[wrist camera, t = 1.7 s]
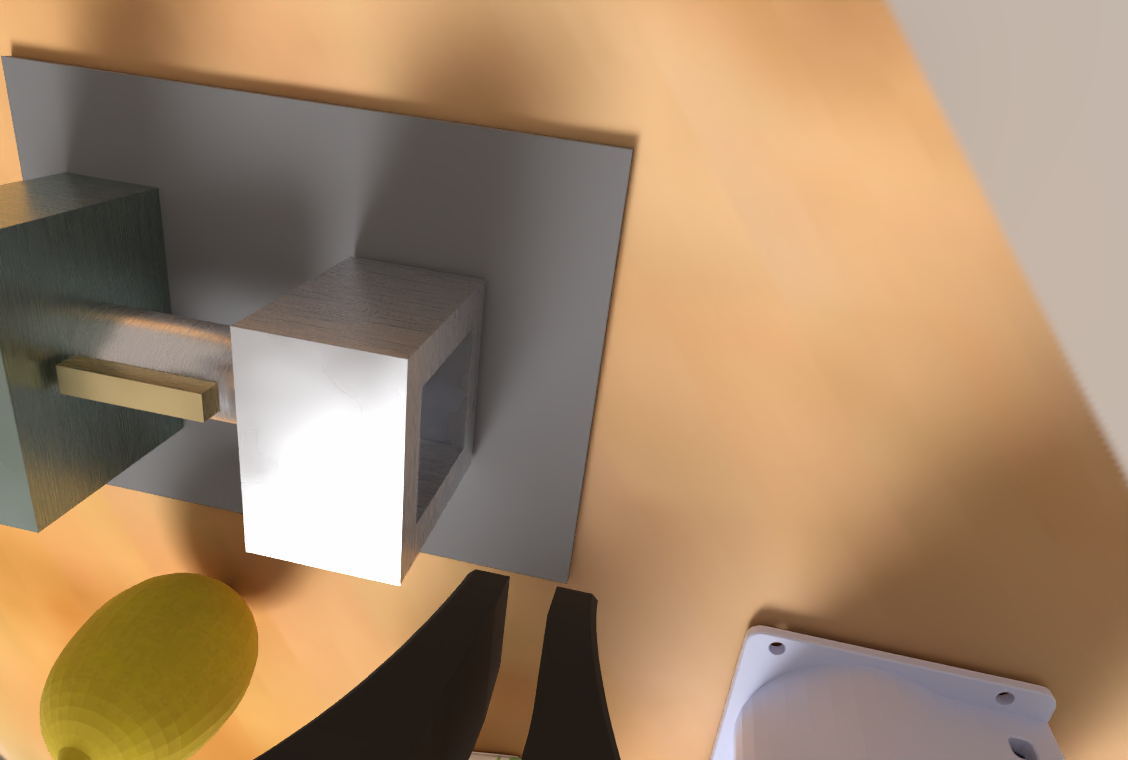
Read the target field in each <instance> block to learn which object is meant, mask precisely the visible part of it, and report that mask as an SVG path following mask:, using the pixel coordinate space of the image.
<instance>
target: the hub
mask: <svg viewBox="0 0 1128 760" xmlns="http://www.w3.org/2000/svg"><path fill="white" fill-rule="evenodd" d="M485 282H486V280H485V279H480V278H474V277H468V276H462V275H456V274H451V273H445V272H439V271H433V270H427V269H422V268H416V267H410V266H404V265H398V264H393V263H387V262H381V261H375V260H369V259H364V258H358V257H352V256H350V257H348V258H347V259H345V260H343V261H341V262H340V263H338V264H336V265H334V266H333V267H331V268H329V269H328V270H326V271H324V272H322V273H321V274H319V275H317V276H316V277H314V278H312V279H310V280H309V281H307V282H305V283H304V284H302V285H300V286H298V287H297V288H295V289H293V290H292V291H290V292H288V293H286V294H285V295H283V296H281V297H279V298H278V299H276V300H274V301H273V302H271V303H269V304H267V305H266V306H264V307H262V308H261V309H259V310H257V311H255V312H254V313H252V314H250V315H249V316H247V317H245V318H243V319H242V320H240V321H238V322H237V323H235V324H233V325H231V326H230V332H231V346H232V360H233V375H234V389H235V403H236V417H237V432H238V446H239V460H240V475H241V489H242V503H243V518H244V532H245V546H246V552H250V553H255V554H259V555H264V556H268V557H273V558H277V559H282V560H286V561H291V562H295V563H300V564H304V565H309V566H313V567H317V568H322V569H326V570H331V571H335V572H340V573H344V574H349V575H353V576H358V577H362V578H367V579H371V580H376V581H380V582H385V583H389V584H394V585H398V586H400V584H401V583H402V581H403V579H404V578H405V576H406V574H407V572H408V571H409V569H410V567H411V566H412V564H413V562H414V560H415V559H416V557H417V555H418V554H419V552H420V550H421V548H422V547H423V545H424V543H425V542H426V540H427V538H428V537H429V535H430V533H431V531H432V530H433V528H434V526H435V525H436V523H437V521H438V519H439V518H440V516H441V514H442V513H443V511H444V509H445V507H446V506H447V504H448V502H449V501H450V499H451V497H452V495H453V494H454V492H455V490H456V489H457V487H458V485H459V483H460V482H461V480H462V478H463V477H464V475H465V473H466V471H467V470H468V468H469V466H470V465H471V461H472V448H473V435H474V423H475V410H476V397H477V384H478V372H479V359H480V346H481V333H482V321H483V308H484V295H485Z"/></svg>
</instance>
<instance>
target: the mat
mask: <svg viewBox="0 0 1128 760" xmlns="http://www.w3.org/2000/svg"><path fill="white" fill-rule="evenodd" d="M1 58H2V64H3V70H4V75H5V81H6V87H7V92H8V98H9V104H10V109H11V115H12V121H13V126H14V132H15V138H16V143H17V149H18V155H19V160H20V166H21V172H22V177H23V181H24V180H29V179H34V178H39V177H44V176H49V175H54V174H59V173H64V172H67V173H73V174H79V175H85V176H91V177H97V178H103V179H109V180H115V181H121V182H127V183H133V184H139V185H145V186H151V187H157V188H159V196H160V205H161V215H162V225H163V234H164V244H165V254H166V263H167V273H168V283H169V292H170V302H171V312H172V315H176V316H182V317H187V318H193V319H198V320H203V321H209V322H214V323H219V324H225V325H230V326H231V325H233V324H235V323H237V322H238V321H240V320H242V319H243V318H245V317H247V316H249V315H250V314H252V313H254V312H255V311H257V310H259V309H261V308H262V307H264V306H266V305H267V304H269V303H271V302H273V301H274V300H276V299H278V298H279V297H281V296H283V295H285V294H286V293H288V292H290V291H292V290H293V289H295V288H297V287H298V286H300V285H302V284H304V283H305V282H307V281H309V280H310V279H312V278H314V277H316V276H317V275H319V274H321V273H322V272H324V271H326V270H328V269H329V268H331V267H333V266H334V265H336V264H338V263H340V262H341V261H343V260H345V259H347V258H348V257H350V256H352V257H358V258H364V259H369V260H375V261H381V262H387V263H393V264H398V265H404V266H410V267H416V268H422V269H427V270H433V271H439V272H445V273H451V274H456V275H462V276H468V277H474V278H480V279H485V280H486V282H485V295H484V308H483V321H482V333H481V346H480V359H479V372H478V384H477V397H476V410H475V423H474V435H473V448H472V461H471V465H470V466H469V468H468V470H467V471H466V473H465V475H464V477H463V478H462V480H461V482H460V483H459V485H458V487H457V489H456V490H455V492H454V494H453V495H452V497H451V499H450V501H449V502H448V504H447V506H446V507H445V509H444V511H443V513H442V514H441V516H440V518H439V519H438V521H437V523H436V525H435V526H434V528H433V530H432V531H431V533H430V535H429V537H428V538H427V540H426V542H425V543H424V545H423V547H422V548H421V550H420V552H422V553H426V554H431V555H436V556H440V557H445V558H450V559H454V560H459V561H463V562H468V563H473V564H477V565H482V566H486V567H491V568H496V569H500V570H505V571H510V572H514V573H519V574H523V575H528V576H533V577H537V578H542V579H546V580H551V581H556V582H560V583H565V584H567V581H568V577H569V570H570V564H571V557H572V551H573V544H574V537H575V531H576V524H577V518H578V511H579V504H580V498H581V491H582V485H583V478H584V471H585V465H586V458H587V452H588V445H589V439H590V432H591V425H592V419H593V412H594V406H595V399H596V392H597V386H598V379H599V373H600V366H601V359H602V353H603V346H604V340H605V333H606V327H607V320H608V313H609V307H610V300H611V294H612V287H613V280H614V274H615V267H616V261H617V254H618V248H619V241H620V234H621V228H622V221H623V215H624V208H625V201H626V195H627V188H628V182H629V175H630V168H631V162H632V155H633V148H626V147H619V146H613V145H606V144H599V143H592V142H586V141H579V140H572V139H565V138H559V137H552V136H545V135H538V134H532V133H525V132H518V131H512V130H505V129H498V128H491V127H485V126H478V125H471V124H464V123H458V122H451V121H444V120H437V119H431V118H424V117H417V116H411V115H404V114H397V113H390V112H384V111H377V110H370V109H363V108H357V107H350V106H343V105H336V104H330V103H323V102H316V101H310V100H303V99H296V98H289V97H283V96H276V95H269V94H262V93H256V92H249V91H242V90H235V89H229V88H222V87H215V86H209V85H202V84H195V83H188V82H182V81H175V80H168V79H161V78H155V77H148V76H141V75H135V74H128V73H121V72H114V71H108V70H101V69H94V68H87V67H81V66H74V65H67V64H60V63H54V62H47V61H40V60H34V59H27V58H20V57H13V56H1ZM183 427H184V428H183V429H181V430H180V431H179V432H177V433H176V434H174V435H173V436H172V437H170V438H169V439H167V440H166V441H165V442H163V443H162V444H161V445H159V446H158V447H156V448H155V449H154V450H152V451H151V452H149V453H148V454H147V455H145V456H144V457H143V458H141V459H140V460H138V461H137V462H136V463H134V464H133V465H131V466H130V467H129V468H127V469H126V470H125V471H123V472H122V473H120V474H119V475H118V476H116V477H115V478H113V479H112V480H111V481H109V482H108V483H106V484H108V485H113V486H117V487H122V488H127V489H131V490H136V491H140V492H145V493H150V494H154V495H159V496H164V497H168V498H173V499H177V500H182V501H187V502H191V503H196V504H200V505H205V506H210V507H214V508H219V509H223V510H228V511H233V512H237V513H242V514H243V503H242V489H241V475H240V460H239V446H238V432H237V424H234V423H229V422H224V421H219V420H214V419H208V420H207V421H206V422H204V423H203V422H198V421H193V420H188V419H183Z"/></svg>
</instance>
